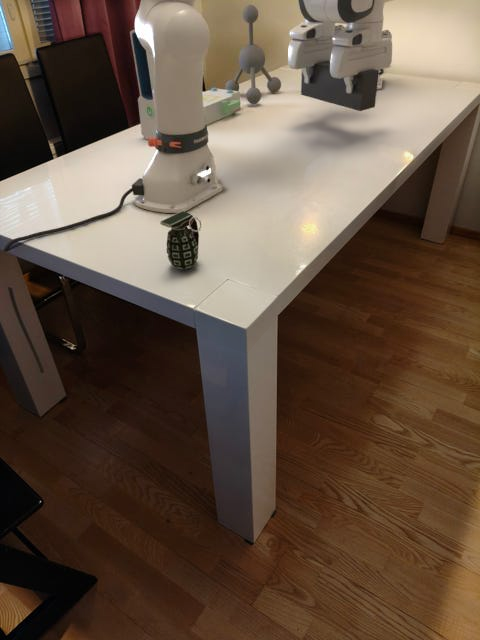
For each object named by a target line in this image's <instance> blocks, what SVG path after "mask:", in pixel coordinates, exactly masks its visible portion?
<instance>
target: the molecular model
mask: <svg viewBox="0 0 480 640" xmlns="http://www.w3.org/2000/svg"><path fill="white" fill-rule="evenodd" d="M258 18H259V10H258V8H257V7H256V6H255V5H253V4H248V5H246V6H245V7H244V8H243V10H242V19H243V20H244V22H246V23H247V24H248V44H246V45H245V46H243V47H242V48H241V50H240V52H239V55H238V64H239V67H240V68H239V69H238V71H237V73H236V75H235V76H234V79H229V80H227V81H226V83H225V86H224V87H225V88H224V90H232V91H240V84H239V83H238V82H239V79H240V78H241V76H242V74H243V72H244V73H246V74H248V75H250V88H249V89H248V90H247V91H246V92H245V98H246V101H247V102H248V103H250V104H251V105H255V104H258V103H259V102H260V101H261V99H262V92H261V90H260V89H259V88H258V87H256V74H258V73H260V72H262V74H263V75H264V76H265V79H266V80H267V82H266V88H267V89H268V91H269V92H271V93H277V92H279V91H280V89H281V88H282V81H281V80H280V78H279V77H277V76H271V75H270V74H269V72H268V71H267V70H266V68H265V67H264V66H265V64H266V55H265V52H264V49H262V47H260V46H259V45H258V44H255V43H254V23H256V21H258Z"/></svg>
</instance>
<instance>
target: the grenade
mask: <svg viewBox="0 0 480 640" xmlns="http://www.w3.org/2000/svg"><path fill="white" fill-rule="evenodd" d="M198 222H199V226H198ZM159 224H160V225H162V226H164V227H166V228H169V230H168V231H167V236H166V254H167V259H168V261H169V263H170V265H171V266H172V267H174V268H176V269H178V270H181V271H186V270H189V269H192V267H194V266H195V265H196V264H197V262H198V261H197V260H198V259H199V243H200V241H199V240H200V233H199V232H200V231H201V228H202V221H201V220H200V219H199V218H198V217H197V216H194V215H193V214H192V213H189V212H187V211H185V212H184V211H181V212H179V213H174V214H172V215H170V216H169V217H166V218H165V219H162V220H160V222H159ZM198 227H199V228H198Z"/></svg>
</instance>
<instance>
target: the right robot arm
mask: <svg viewBox="0 0 480 640" xmlns="http://www.w3.org/2000/svg"><path fill="white" fill-rule="evenodd" d="M392 1H394V0H386V1H385V3H390V2H392ZM346 26H348V24H346ZM346 26H344V25H343V24H338V25H336V23H329V22H309V21H307V20H306V19H305V18H304V17H303V21H302V22H300V23H299V24H297V25H296V26H295V27H293V28H291V29H290V30H289V38H290V39H291V40H290V41H289V42H288V43H289V44H288V50H287V65H288V67H289V68H290V69H291V70H297V71H298V70H301V74H302V73H303V75H304V76H305V79H304V82H305V83H307V84H308V83H311V82H312V76H310V75H309V72H308V71H310V67H312V66H314V65H315V64H316V63H321V62H325V61H330V59H331V52H332V49H333V47H334V46H335V44H333V42H332V40H333V36H334V35H335V34H337V33H338V32H340V31H341V30H343V29H344V28H345V27H346ZM384 70H385V69H380V70H379V75H378V83H377V90H381V89H382V88H383V82H384V81H383V80H384V79H383V77H380V76H381V74H383V73H384Z"/></svg>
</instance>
